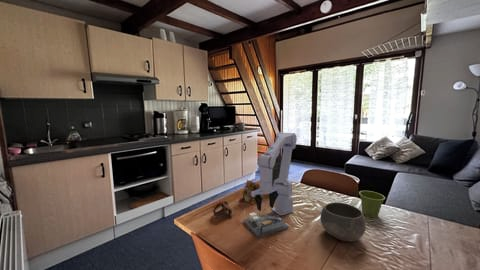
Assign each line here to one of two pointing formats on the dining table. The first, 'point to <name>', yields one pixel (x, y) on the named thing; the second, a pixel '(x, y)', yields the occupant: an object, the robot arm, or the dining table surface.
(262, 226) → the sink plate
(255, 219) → the block
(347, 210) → the bowl
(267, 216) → the strap
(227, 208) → the pottery mug
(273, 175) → the beer stein
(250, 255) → the dining table surface
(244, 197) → the stuffed squirrel
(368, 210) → the plant pot
